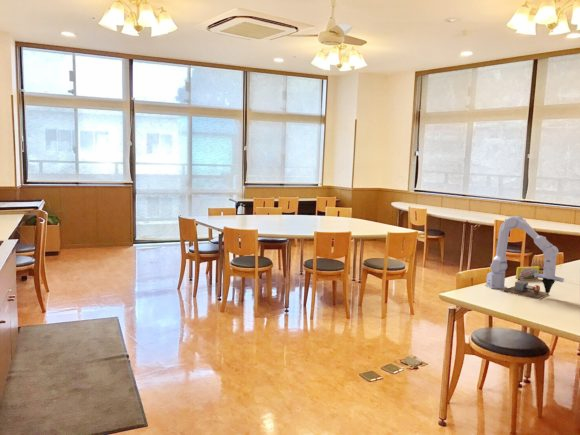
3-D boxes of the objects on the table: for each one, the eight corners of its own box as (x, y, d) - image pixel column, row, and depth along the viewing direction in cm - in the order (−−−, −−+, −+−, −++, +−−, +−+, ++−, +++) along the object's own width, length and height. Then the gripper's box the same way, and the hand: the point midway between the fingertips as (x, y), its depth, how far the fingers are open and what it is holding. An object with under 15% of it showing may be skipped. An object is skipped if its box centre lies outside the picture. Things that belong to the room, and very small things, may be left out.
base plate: (548, 294, 267) (548, 293, 267) (538, 299, 258) (538, 297, 258) (514, 287, 281) (514, 286, 281) (503, 291, 272) (503, 289, 272)
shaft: (539, 292, 266) (540, 284, 265) (536, 293, 263) (537, 286, 263) (521, 288, 273) (522, 281, 273) (518, 290, 271) (518, 282, 270)
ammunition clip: (548, 276, 311) (550, 258, 310) (547, 277, 310) (549, 259, 309) (531, 274, 318) (532, 256, 317) (530, 274, 317) (531, 256, 316)
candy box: (517, 280, 300) (518, 267, 299) (515, 279, 302) (516, 267, 301) (538, 279, 304) (539, 266, 303) (536, 278, 306) (537, 266, 305)
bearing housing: (527, 290, 272) (528, 281, 271) (522, 292, 268) (523, 283, 267) (520, 288, 275) (520, 280, 275) (514, 290, 271) (515, 282, 270)
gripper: (566, 269, 256) (564, 294, 258) (538, 264, 267) (536, 288, 269) (561, 271, 252) (559, 296, 253) (533, 266, 263) (531, 290, 264)
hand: (547, 292), depth 261 cm, fingers closed
